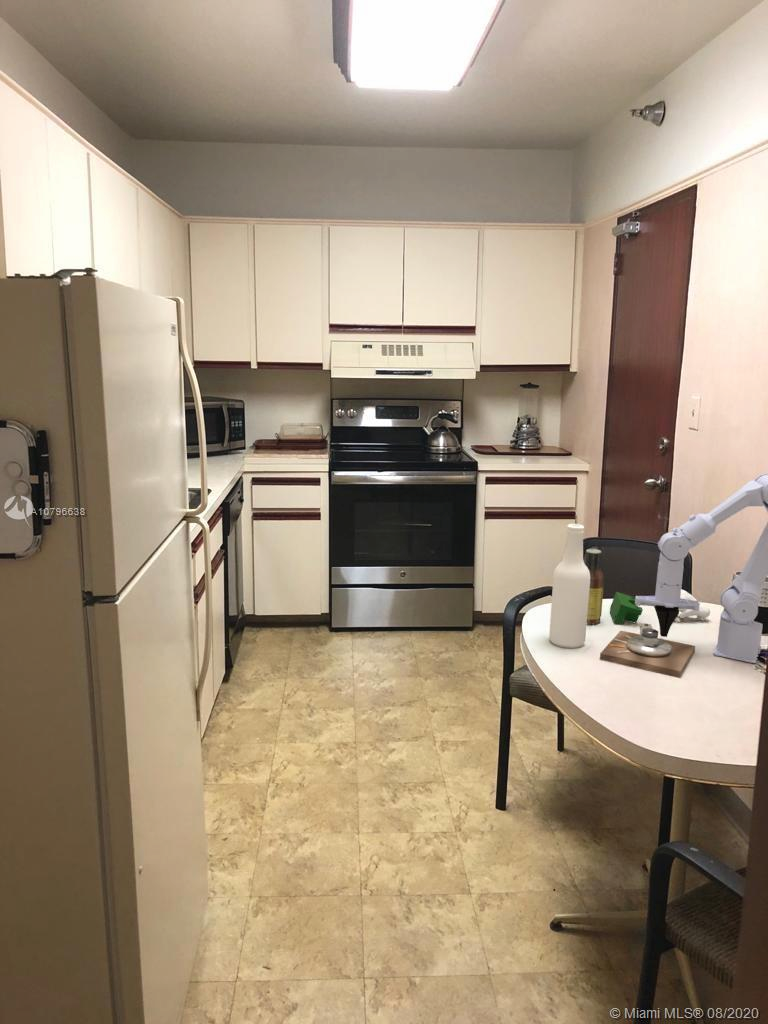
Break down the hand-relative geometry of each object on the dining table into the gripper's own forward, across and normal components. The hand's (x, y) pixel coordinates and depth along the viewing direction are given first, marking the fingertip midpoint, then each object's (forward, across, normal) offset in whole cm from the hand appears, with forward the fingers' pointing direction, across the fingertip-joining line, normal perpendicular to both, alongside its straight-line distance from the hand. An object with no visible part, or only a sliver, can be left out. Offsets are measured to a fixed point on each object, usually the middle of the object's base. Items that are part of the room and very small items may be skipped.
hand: (663, 635), depth 184 cm
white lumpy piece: (+3, +10, +23) cm, 25 cm away
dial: (+2, -4, -5) cm, 6 cm away
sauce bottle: (+3, -17, +15) cm, 23 cm away
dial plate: (+3, -4, -6) cm, 8 cm away
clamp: (+4, -7, +19) cm, 21 cm away
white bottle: (+3, -23, -2) cm, 23 cm away
